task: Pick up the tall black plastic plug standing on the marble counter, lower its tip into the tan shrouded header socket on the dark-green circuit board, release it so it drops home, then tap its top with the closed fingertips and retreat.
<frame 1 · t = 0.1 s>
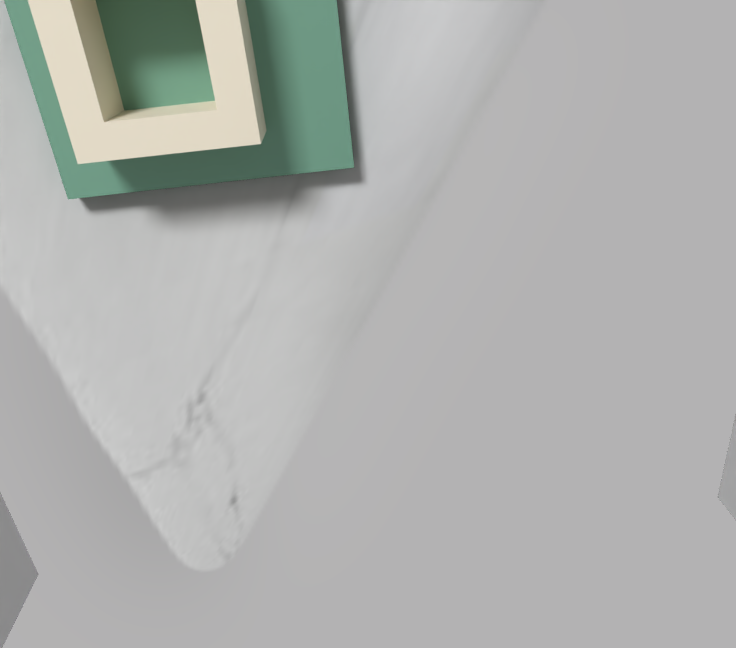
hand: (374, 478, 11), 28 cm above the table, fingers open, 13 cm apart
board: (178, 3, 32), on the table
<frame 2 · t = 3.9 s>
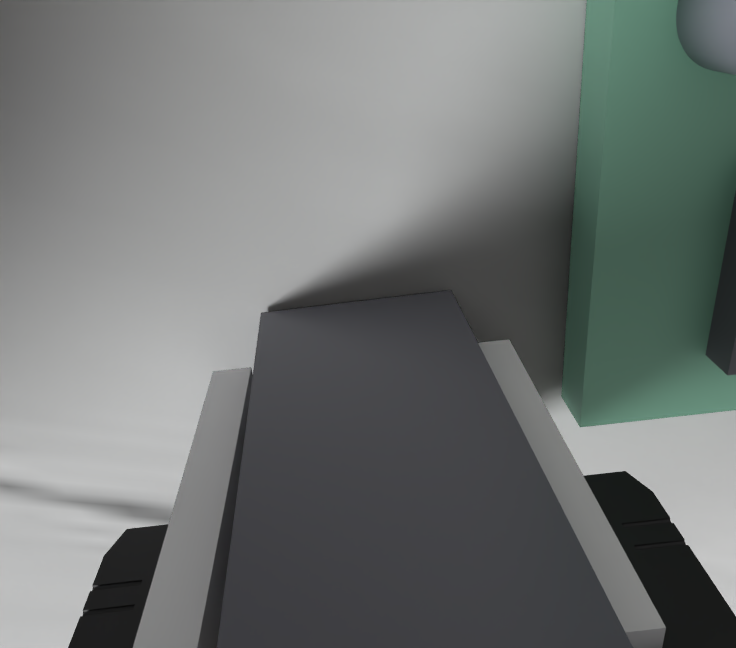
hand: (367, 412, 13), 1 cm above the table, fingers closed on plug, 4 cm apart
plug: (365, 381, 14), on the table, touching gripper
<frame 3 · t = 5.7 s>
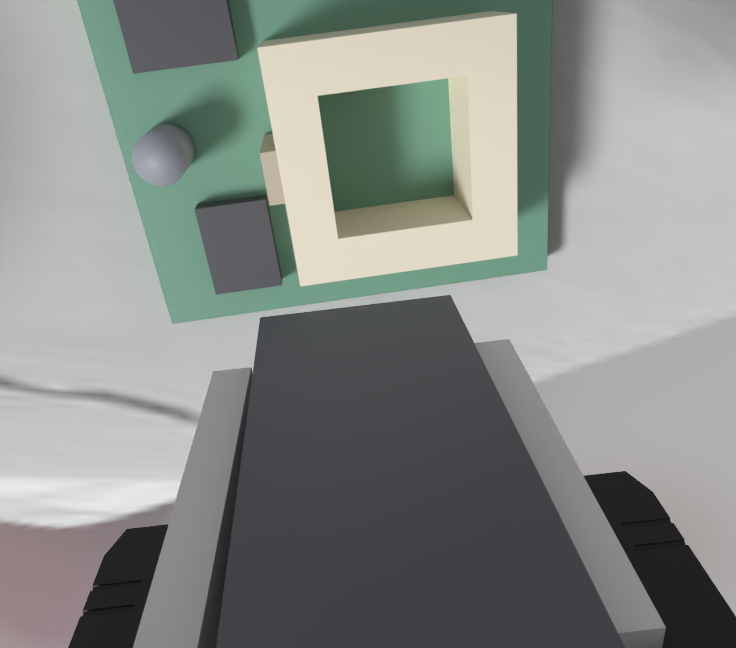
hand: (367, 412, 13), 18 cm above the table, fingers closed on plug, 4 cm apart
board: (337, 119, 27), on the table
plug: (364, 386, 14), point 17 cm above the table, touching gripper
when the fingers open (5 cm above the table, at t = 7.9 s): plug drops 3 cm, resting on board.
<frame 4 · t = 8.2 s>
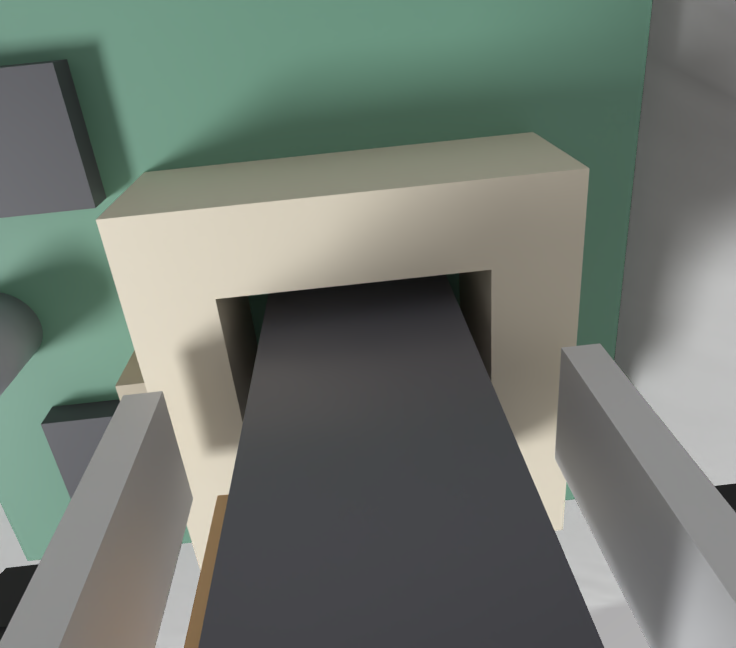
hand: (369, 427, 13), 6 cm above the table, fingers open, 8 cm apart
board: (279, 279, 17), on the table
plug: (361, 326, 17), point 1 cm above the table, touching board
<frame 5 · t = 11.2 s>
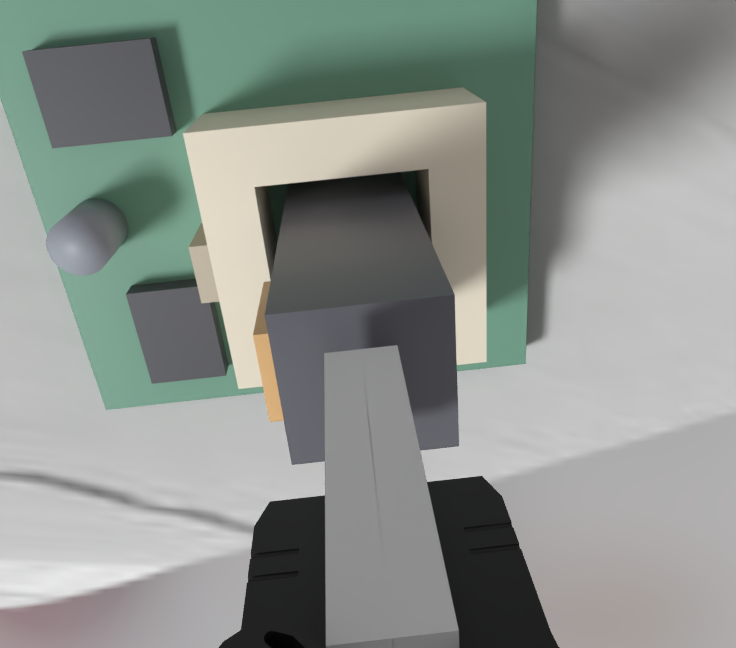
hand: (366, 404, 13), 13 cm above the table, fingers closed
board: (291, 196, 24), on the table
plug: (349, 226, 24), point 1 cm above the table, touching board
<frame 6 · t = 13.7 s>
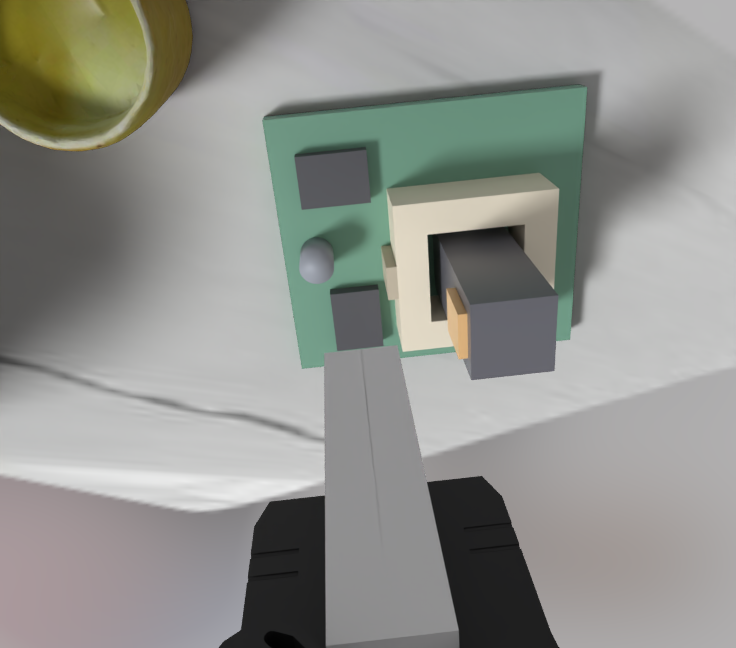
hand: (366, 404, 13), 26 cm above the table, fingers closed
board: (428, 234, 40), on the table
mug: (79, 35, 34), on the table
plug: (465, 253, 39), point 1 cm above the table, touching board
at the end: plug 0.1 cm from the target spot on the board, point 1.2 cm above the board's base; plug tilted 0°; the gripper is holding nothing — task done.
